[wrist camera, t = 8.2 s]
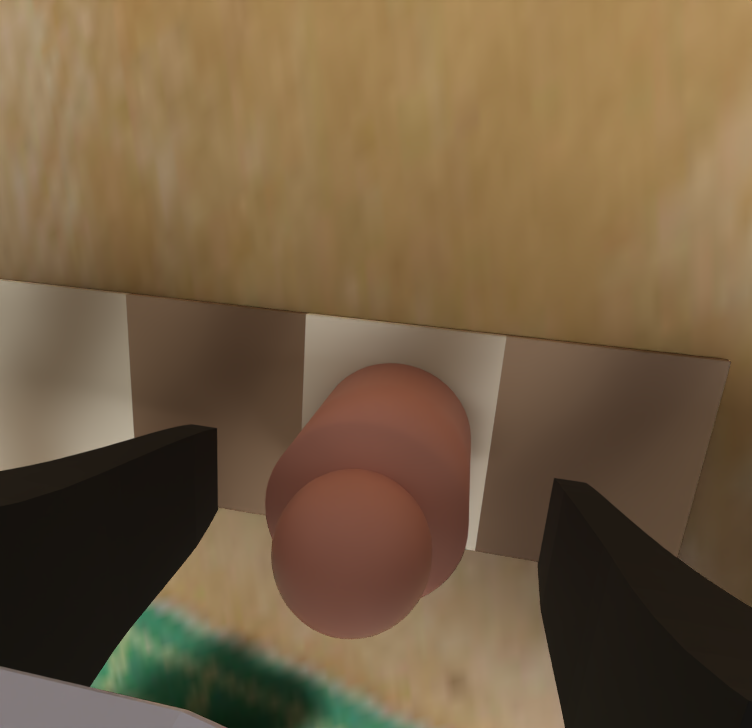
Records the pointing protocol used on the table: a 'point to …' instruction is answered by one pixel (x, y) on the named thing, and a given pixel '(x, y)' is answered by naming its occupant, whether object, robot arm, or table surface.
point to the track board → (327, 369)
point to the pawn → (371, 501)
